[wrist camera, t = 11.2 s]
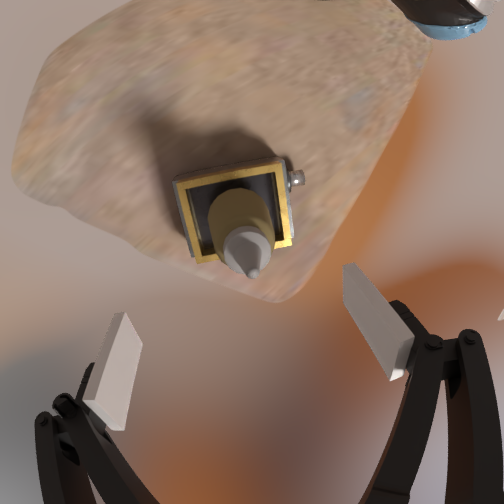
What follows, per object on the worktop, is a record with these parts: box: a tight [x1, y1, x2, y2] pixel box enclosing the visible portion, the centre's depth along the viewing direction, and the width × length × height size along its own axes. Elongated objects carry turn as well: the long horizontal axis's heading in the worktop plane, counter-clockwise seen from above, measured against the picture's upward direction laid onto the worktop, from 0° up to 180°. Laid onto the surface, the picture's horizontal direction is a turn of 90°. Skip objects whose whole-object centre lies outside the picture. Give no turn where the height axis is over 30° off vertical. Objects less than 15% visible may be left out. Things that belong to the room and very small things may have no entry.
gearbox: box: [172, 156, 305, 264], centre depth 42 cm, size 19×12×8 cm, turn 99°
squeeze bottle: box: [208, 188, 275, 279], centre depth 32 cm, size 8×8×18 cm
